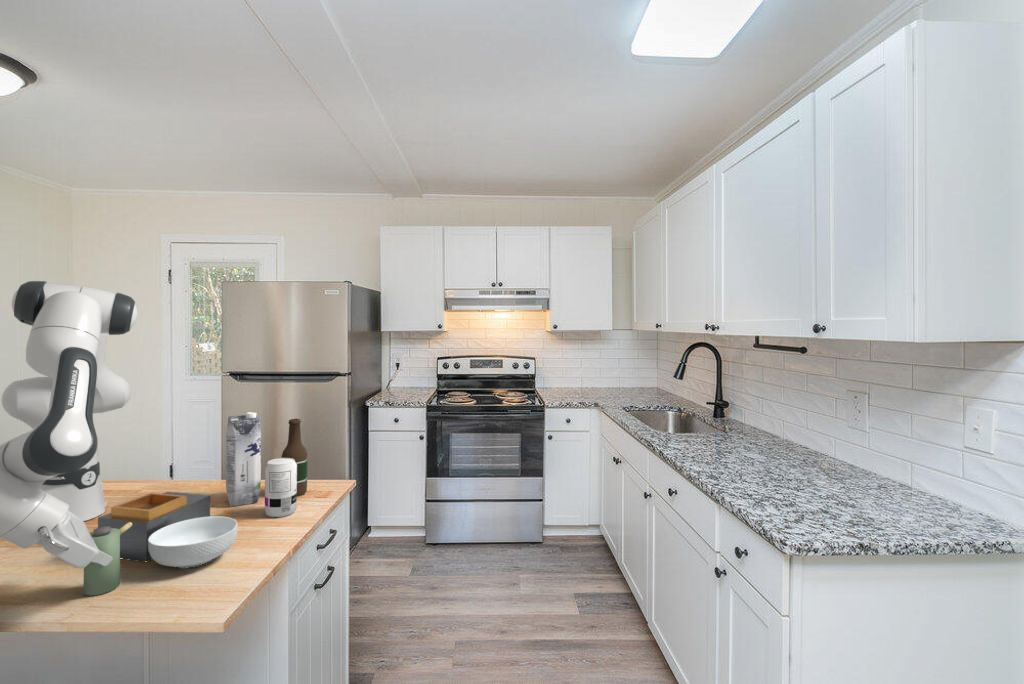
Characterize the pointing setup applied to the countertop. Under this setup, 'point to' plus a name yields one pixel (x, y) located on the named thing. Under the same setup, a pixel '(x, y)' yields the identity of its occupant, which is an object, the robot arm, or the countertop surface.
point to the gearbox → (152, 518)
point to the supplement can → (280, 487)
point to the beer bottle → (297, 455)
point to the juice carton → (243, 459)
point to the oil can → (107, 576)
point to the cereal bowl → (192, 541)
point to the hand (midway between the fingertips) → (106, 555)
